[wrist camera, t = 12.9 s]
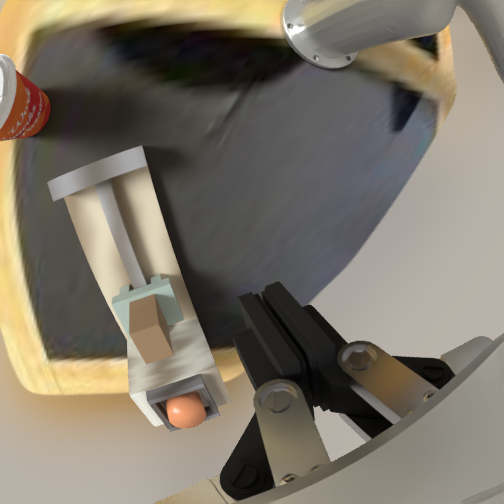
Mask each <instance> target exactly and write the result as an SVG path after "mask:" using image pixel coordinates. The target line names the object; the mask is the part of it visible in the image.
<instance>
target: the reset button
mask: <svg viewBox="0 0 504 504" xmlns="http://www.w3.org/2000/svg"><path fill="white" fill-rule="evenodd" d="M165 404H166V409H167V414H168V418H169V422H170V423H171V424H172V425H173V426H175V427H179V428H191V427H195V426H197V425H199V424H201V423H202V422H203V421H204V420H205V418H206V412H205V409H204V406H203V403H202V400H201V397H200V395H199V394H198V393H197V392H195V391H191V392H189V393H186V394H183V395H180V396H176V397H173V398H170V399H167V400H165Z"/></svg>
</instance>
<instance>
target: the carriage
mask: <svg viewBox="0 0 504 504" xmlns="http://www.w3.org/2000/svg"><path fill="white" fill-rule="evenodd" d="M112 306H113V308H114V310H115V312H116V314H117V316H118V318H119V320H120V322H121V324H122V326H123V328H124V329H125V331H126V333H127V335H128V337H129V339H132V340H133V342H134V344H135V346H136V347H137V349H138V351H139V353H140V354H141V356H142V358H143V360H144V361H145V363H146V365H147V364H150V363H153V362H156V361H159V360H162V359H165V358H168V357H171V356H174V353H173V348H172V344H171V339H170V335H169V330H168V326H169V325H172V324H175V323H178V322H181V321H183V320H184V317H183V314H182V311H181V308H180V306H179V303H178V301H177V298H176V296H175V293H174V291H173V288H172V286H171V283H170V280H169V278H166V279H163V280H162V278H161V275H160V274H158V275H156V276H153V277H151V284H149V285H146V286H143V287H140V288H137V289H134V290H132V291H131V288H130V286H129V285H127V286H124V287H122V288H120V293H119V295H117V296H115V297H112Z"/></svg>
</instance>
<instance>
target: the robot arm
mask: <svg viewBox="0 0 504 504" xmlns="http://www.w3.org/2000/svg"><path fill="white" fill-rule="evenodd" d="M456 6H460V7H461V8H462V9H463V10H464V11H465V12H466V14H467V15H468V17H469V18H470V20H471V22H472V23H473V24H474V26H475V28H476V29H477V31H478V33H479V35H480V37H481V39H482V41H483V43H484V45H485V47H486V49H487V51H488V53H489V55H490V58H491V60H492V62H493V64H494V67H495V68H496V71H497V73H498V75H499V76H500V78H501V80H502V81H503V83H504V0H288V1H287V2H286V3H285V5H284V6H283V8H282V12H281V27H282V31H283V33H284V36H285V38H286V40H287V41H288V43H289V44H290V46H291V47H292V48H293V49H294V51H295V52H296V53H297V54H299V55H300V56H301V57H302V58H303V59H305V60H306V61H308V62H309V63H311V64H313V65H315V66H318V67H321V68H326V69H336V68H341V67H344V66H347V65H348V64H350V63H351V62H352V61H354V60H355V58H356V57H357V55H358V52H359V51H361V50H365V49H368V48H372V47H376V46H380V45H384V44H388V43H392V42H397V41H402V40H406V39H411V38H417V37H422V36H427V35H432V34H436V33H438V32H440V31H442V30H443V29H445V28H446V26H447V25H448V24H449V23H450V21H451V19H452V17H453V14H454V11H455V9H456ZM261 294H262V298H263V300H262V298H261V297H260V296H259V294H255V295H253V293H252V292H250V293H247V294H245V295H242V296H239V297H238V302H239V305H240V308H241V311H242V315H243V318H244V321H245V324H246V328H247V331H244V332H242V333H239V334H237V335H234V336H232V338H233V341H234V344H235V347H236V349H237V352H238V354H239V357H240V359H241V362H242V364H243V366H244V368H245V371H246V373H247V375H248V377H249V379H250V381H251V383H252V385H253V387H254V389H255V391H256V393H255V396H254V399H253V400H254V408H255V413H254V415H253V417H252V419H251V421H250V422H249V424H248V426H247V428H246V430H245V432H244V433H243V435H242V437H241V438H240V440H239V442H238V444H237V445H236V447H235V449H234V450H233V452H232V454H231V456H230V457H229V459H228V461H227V462H226V464H225V466H224V467H223V469H222V471H221V473H220V474H219V475H217V476H215V477H213V478H211V479H209V478H206V479H204V480H202V481H201V482H198V483H196V484H194V485H192V486H190V487H188V488H186V489H184V490H182V491H180V492H178V493H176V494H173V495H171V496H169V497H167V498H164V499H162V500H160V501H158V502H156V503H155V504H504V334H502V335H500V336H499V337H498V338H496V339H495V340H494V341H492V340H491V339H490V338H487V337H484V336H479V337H476V338H474V339H472V340H470V341H468V342H467V343H464V344H463V345H461V346H459V347H457V348H455V349H453V350H451V351H449V352H447V353H445V354H443V355H441V358H440V359H435V358H420V357H401V356H391V355H389V354H388V353H386V352H385V351H384V350H382V349H381V348H379V347H378V346H376V345H375V344H373V343H371V342H367V341H354V342H351V343H349V344H348V343H347V342H346V341H345V340H344V339H343V338H342V337H341V336H340V335H339V333H338V332H337V331H336V330H335V329H334V328H333V327H332V326H331V325H330V324H329V323H328V322H327V321H326V320H325V319H324V318H323V317H322V316H321V314H320V313H319V312H318V311H317V310H316V309H315V308H314V307H313V306H312V305H307V306H304V307H302V306H301V305H300V304H299V303H298V302H297V301H296V300H295V299H294V297H293V296H292V295H291V294H290V293H289V292H288V291H287V290H286V288H285V287H284V286H283V285H282V284H281V283H280V282H275V283H273V284H270V285H268V286H265V291H263V292H261ZM313 406H314V407H317V406H320V407H321V409H322V410H323V411H326V410H328V409H330V411H331V412H335V413H339V415H340V417H341V418H342V419H343V420H344V421H345V422H346V423H347V424H348V425H349V426H350V427H351V428H352V429H353V430H354V431H355V432H356V433H358V434H359V435H360V436H361V437H362V438H363V439H364V440H365V441H366V442H367V443H365V444H364V445H362V446H360V447H359V448H356V449H355V450H353V451H351V452H350V453H348V454H346V455H344V456H342V457H340V458H339V459H337V460H335V461H333V462H331V461H330V458H329V456H328V454H327V451H326V449H325V446H324V444H323V441H322V439H321V437H320V434H319V432H318V429H317V427H316V425H315V422H314V421H315V418H314V410H313Z"/></svg>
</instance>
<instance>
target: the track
mask: <svg viewBox="0 0 504 504" xmlns="http://www.w3.org/2000/svg"><path fill="white" fill-rule="evenodd" d="M47 183H48V186H49V189H50V193H51V196H52V199H53V201H56V200H58V199H60V198H62V197H64V198H65V201H66V204H67V207H68V210H69V213H70V216H71V219H72V221H73V224H74V227H75V229H76V232H77V235H78V237H79V240H80V242H81V245H82V247H83V250H84V252H85V255H86V257H87V259H88V262H89V264H90V266H91V269H92V271H93V273H94V276H95V278H96V280H97V282H98V284H99V286H100V289H101V291H102V293H103V295H104V297H105V299H106V301H107V303H108V305H109V307H110V309H111V311H112V313H113V315H114V317H115V319H116V321H117V322H118V324H119V326H120V328H121V330H122V332H123V334H124V335H125V337H126V339H127V349H128V379H129V395H130V397H131V398H132V399H133V400H134V402H135V403H136V404H137V406H138V407H139V408H140V410H141V411H142V412H143V413H144V414H145V416H146V417H147V418H148V419H149V421H150V422H151V423H152V424H153V425H154V426H159V425H162V424H165V425H166V427H167V428H168V429H169V430H170V431H174V430H177V429H181V428H179V427H175V426H173V425H172V424H171V423H170V422H169V418H168V414H167V409H166V404H165V400H167V399H170V398H173V397H176V396H180V395H183V394H186V393H189V392H191V391H195V392H197V393H198V394H199V395H200V397H201V400H202V403H203V406H204V409H205V412H206V418H205V420H204V421H206V420H209V419H212V418H214V417H217V416H220V413H219V411H218V408H217V406H220V405H223V404H225V403H228V402H231V401H232V400H231V398H230V396H229V393H228V391H227V389H226V386H225V384H224V382H223V379H222V377H221V375H220V372H219V370H218V368H217V365H216V363H215V360H214V358H213V355H212V353H211V350H210V348H209V345H208V343H207V341H206V338H205V336H204V333H203V331H202V328H201V325H200V323H199V320H198V318H197V315H196V312H195V310H194V307H193V305H192V302H191V299H190V296H189V294H188V291H187V288H186V285H185V283H184V280H183V277H182V274H181V271H180V269H179V266H178V263H177V260H176V257H175V254H174V251H173V248H172V245H171V242H170V239H169V236H168V233H167V230H166V226H165V223H164V220H163V217H162V214H161V210H160V207H159V204H158V200H157V197H156V194H155V190H154V187H153V183H152V180H151V176H150V173H149V169H148V165H147V162H146V158H145V154H144V150H143V146H139V147H136V148H133V149H130V150H127V151H124V152H121V153H118V154H115V155H112V156H110V157H107V158H104V159H102V160H99V161H96V162H94V163H91V164H89V165H86V166H84V167H81V168H79V169H76V170H74V171H71V172H69V173H67V174H64V175H62V176H60V177H58V178H55V179H53V180H51V181H49V182H47ZM158 274H160V275H161V278H162V280H163V279H166V278H169V280H170V283H171V286H172V288H173V291H174V293H175V296H176V298H177V301H178V303H179V306H180V308H181V311H182V314H183V317H184V320H183V321H181V322H178V323H175V324H172V325H169V326H168V330H169V335H170V339H171V344H172V348H173V353H174V356H171V357H168V358H165V359H162V360H159V361H156V362H153V363H150V364H147V365H146V363H145V361H144V360H143V358H142V356H141V354H140V353H139V351H138V349H137V347H136V346H135V344H134V342H133V340H132V339H129V337H128V335H127V333H126V331H125V329H124V328H123V326H122V324H121V322H120V320H119V318H118V316H117V314H116V312H115V310H114V308H113V306H112V297H115V296H117V295H119V293H120V288H122V287H124V286H127V285H129V286H130V288H131V291H132V290H134V289H137V288H140V287H143V286H146V285H149V284H151V277H153V276H156V275H158Z"/></svg>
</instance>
